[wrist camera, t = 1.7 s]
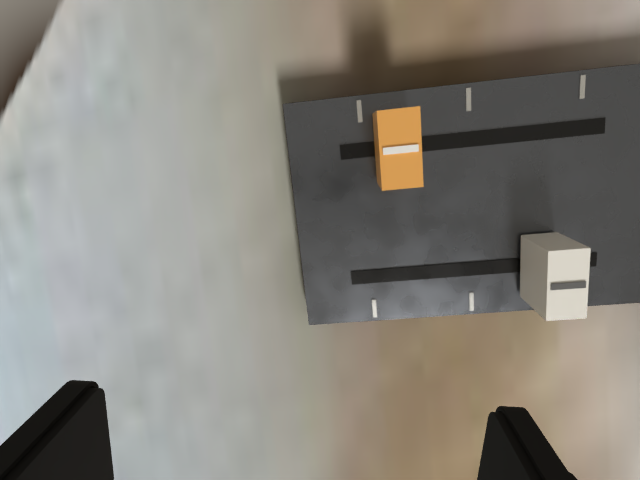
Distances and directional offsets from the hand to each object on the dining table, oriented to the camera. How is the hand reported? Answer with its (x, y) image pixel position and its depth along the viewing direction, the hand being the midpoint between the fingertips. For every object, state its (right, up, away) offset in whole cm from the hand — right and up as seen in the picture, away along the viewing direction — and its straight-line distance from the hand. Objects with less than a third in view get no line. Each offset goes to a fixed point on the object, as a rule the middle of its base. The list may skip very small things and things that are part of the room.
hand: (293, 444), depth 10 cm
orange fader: (+6, +11, +18) cm, 21 cm away
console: (+11, +8, +20) cm, 24 cm away
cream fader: (+16, +3, +19) cm, 25 cm away
